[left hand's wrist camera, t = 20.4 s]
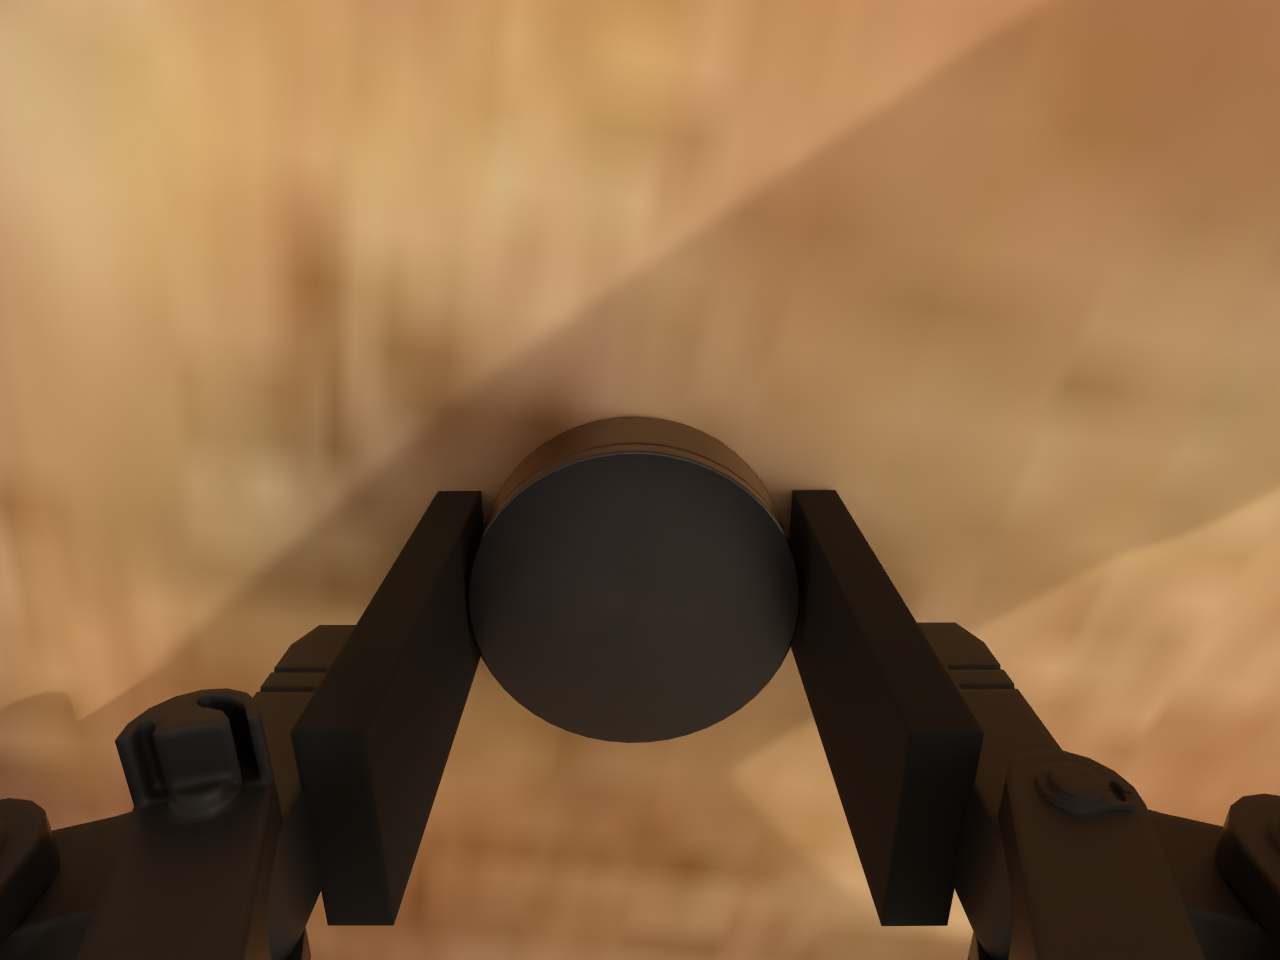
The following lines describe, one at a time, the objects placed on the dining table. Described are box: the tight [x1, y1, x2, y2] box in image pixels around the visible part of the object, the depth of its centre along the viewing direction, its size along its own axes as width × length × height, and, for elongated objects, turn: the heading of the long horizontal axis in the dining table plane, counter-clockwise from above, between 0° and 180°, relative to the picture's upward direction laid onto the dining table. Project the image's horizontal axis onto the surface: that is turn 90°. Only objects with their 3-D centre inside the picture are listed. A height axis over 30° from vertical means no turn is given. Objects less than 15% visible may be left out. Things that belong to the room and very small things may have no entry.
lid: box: [467, 417, 801, 743], centre depth 14 cm, size 5×5×2 cm
